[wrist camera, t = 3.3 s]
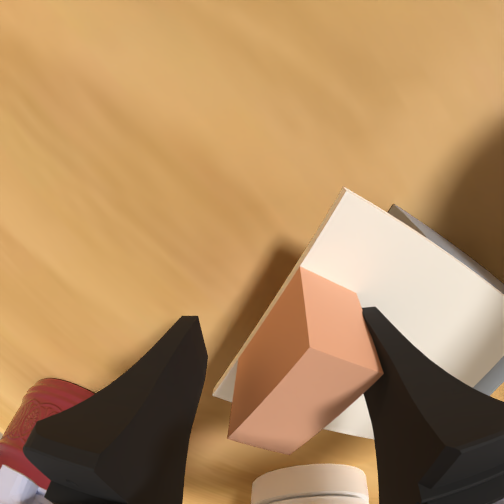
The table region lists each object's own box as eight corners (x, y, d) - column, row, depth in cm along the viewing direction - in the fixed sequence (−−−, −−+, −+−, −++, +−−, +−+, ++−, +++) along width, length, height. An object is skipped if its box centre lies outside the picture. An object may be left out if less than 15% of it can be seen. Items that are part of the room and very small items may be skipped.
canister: (70, 441, 29) (24, 555, 13) (12, 366, 23) (-68, 499, 8) (166, 460, 28) (132, 604, 12) (116, 383, 22) (38, 582, 6)
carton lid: (528, 314, 12) (570, 369, 8) (403, 438, 17) (416, 495, 13) (343, 186, 10) (385, 244, 6) (213, 387, 15) (198, 466, 11)
